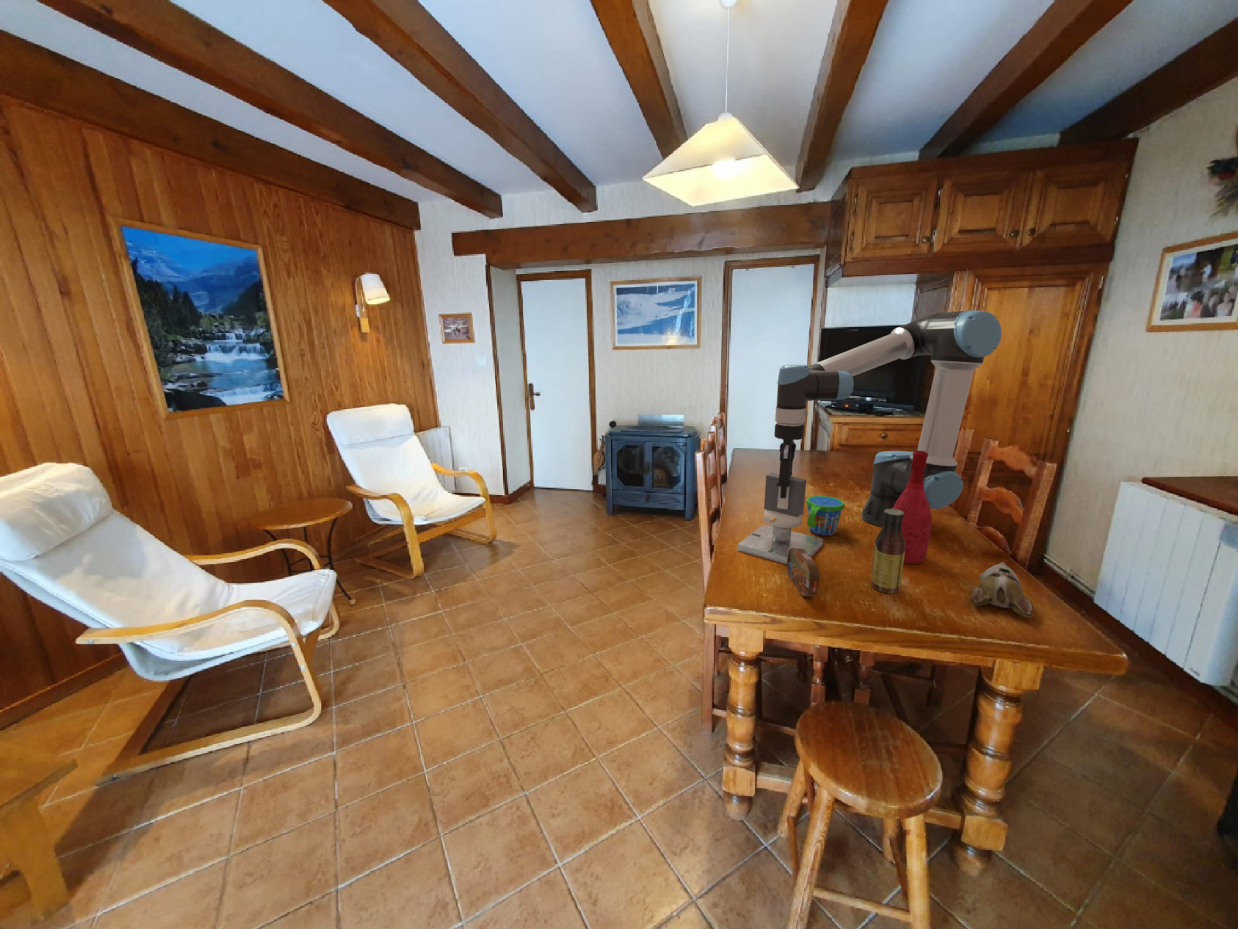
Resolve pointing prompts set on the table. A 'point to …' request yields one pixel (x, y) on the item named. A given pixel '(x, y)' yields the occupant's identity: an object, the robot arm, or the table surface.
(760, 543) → the base
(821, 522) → the snack cup
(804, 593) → the tin
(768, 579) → the table surface
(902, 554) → the sauce bottle
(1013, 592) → the ceramic sculpture
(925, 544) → the wine bottle
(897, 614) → the table surface
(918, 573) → the table surface
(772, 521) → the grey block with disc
